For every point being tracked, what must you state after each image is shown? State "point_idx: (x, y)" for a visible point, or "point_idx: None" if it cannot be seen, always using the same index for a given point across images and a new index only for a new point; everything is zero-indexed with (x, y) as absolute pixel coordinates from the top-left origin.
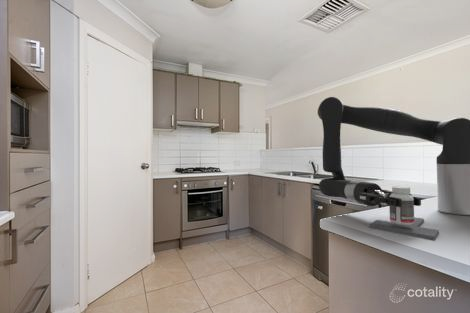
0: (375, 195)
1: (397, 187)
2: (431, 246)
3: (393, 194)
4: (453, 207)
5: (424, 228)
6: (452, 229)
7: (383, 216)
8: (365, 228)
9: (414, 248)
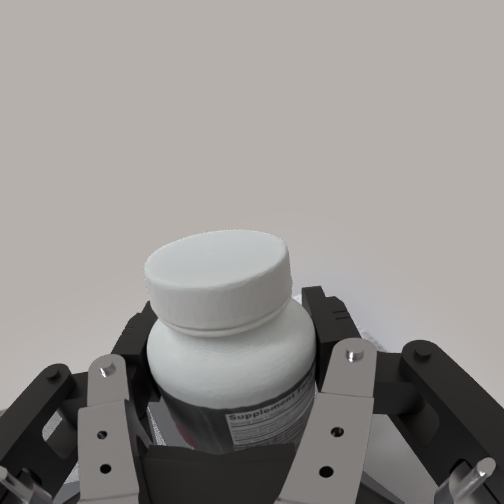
0: (437, 360)
1: (263, 244)
2: None
3: (285, 323)
4: None
5: (171, 425)
6: (59, 415)
7: None
8: (429, 486)
9: (360, 328)
